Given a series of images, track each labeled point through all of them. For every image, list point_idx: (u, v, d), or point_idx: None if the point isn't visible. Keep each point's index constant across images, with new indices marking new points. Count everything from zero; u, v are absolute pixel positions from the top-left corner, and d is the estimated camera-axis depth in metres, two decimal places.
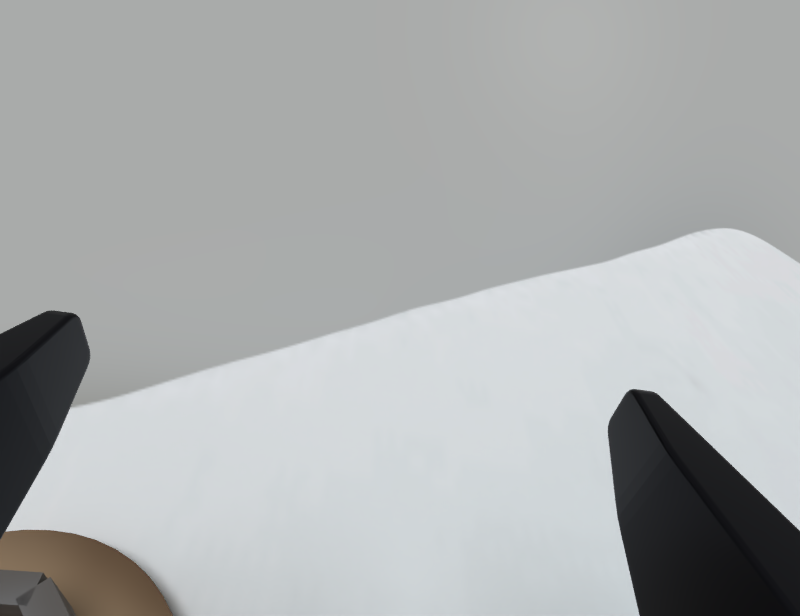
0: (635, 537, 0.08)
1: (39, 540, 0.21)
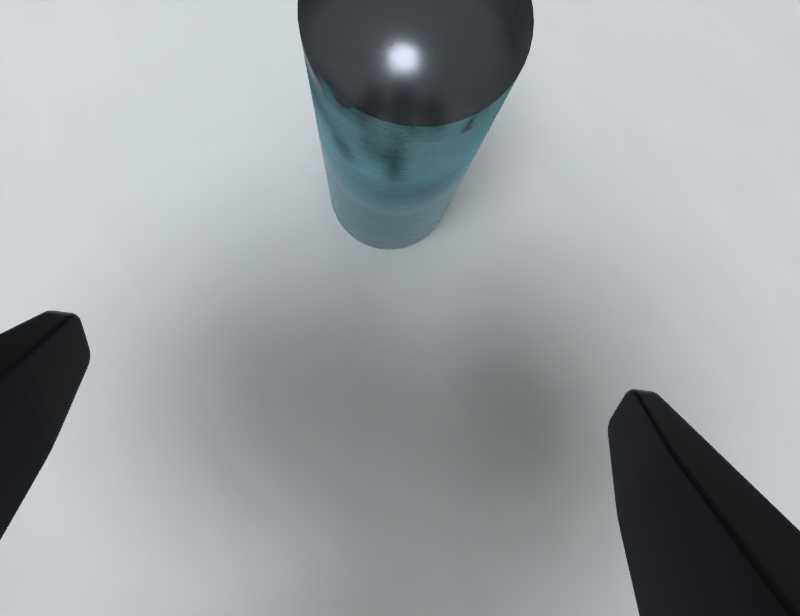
0: (635, 537, 0.08)
1: None
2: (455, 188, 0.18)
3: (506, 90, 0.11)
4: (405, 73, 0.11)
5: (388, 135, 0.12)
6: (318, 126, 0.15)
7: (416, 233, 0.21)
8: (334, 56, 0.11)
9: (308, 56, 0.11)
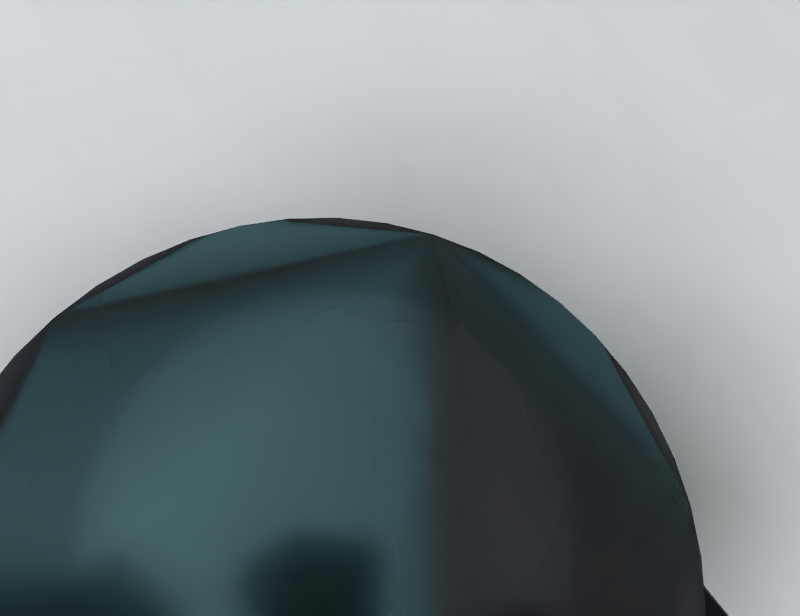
0: None
1: None
2: None
3: None
4: None
5: None
6: None
7: None
8: None
9: None
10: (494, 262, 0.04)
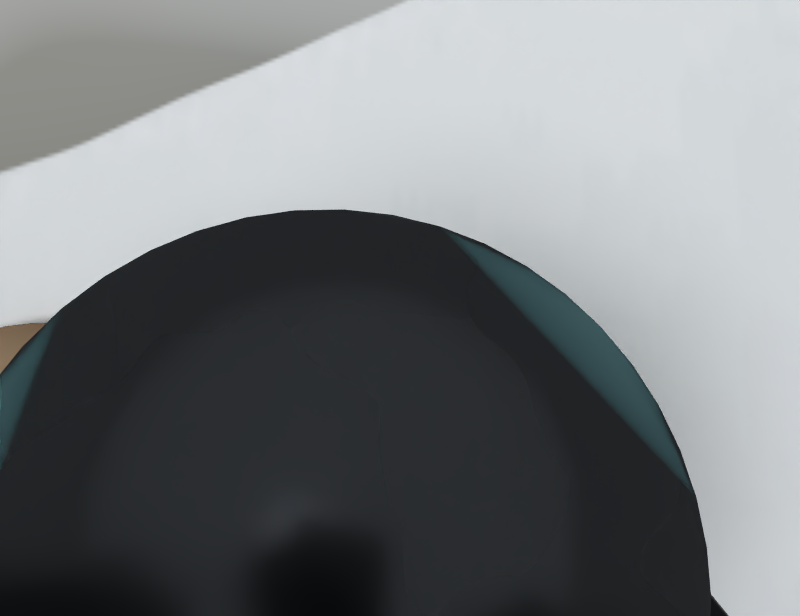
0: None
1: None
2: None
3: None
4: None
5: None
6: None
7: None
8: None
9: None
10: (500, 254, 0.04)
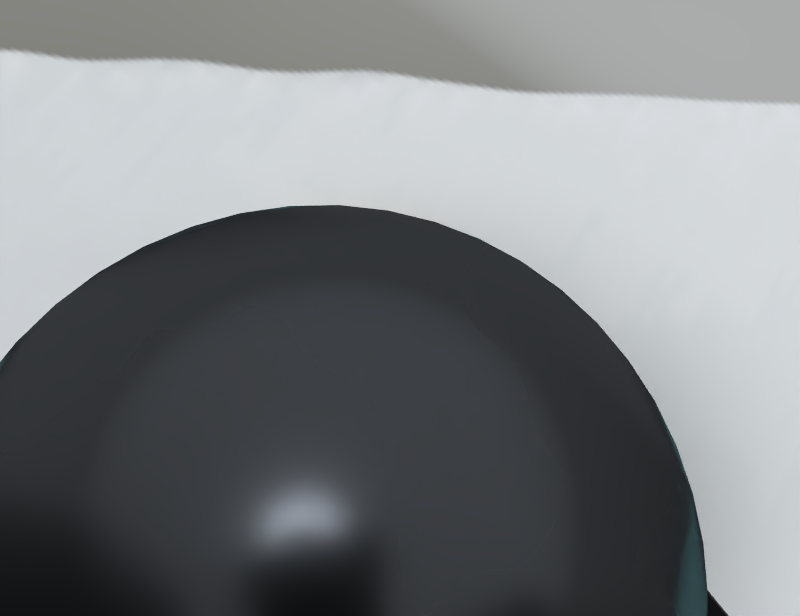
0: None
1: None
2: None
3: None
4: None
5: None
6: None
7: None
8: None
9: None
10: (496, 249, 0.04)
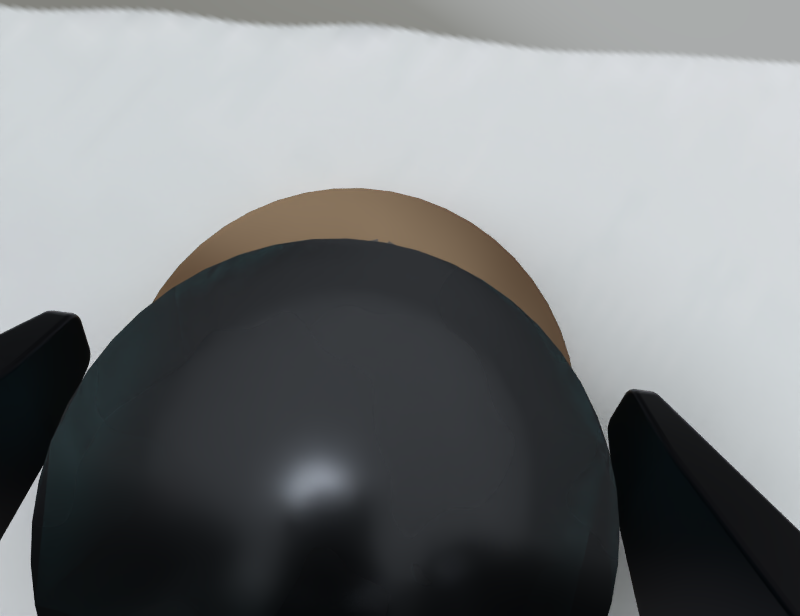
0: (635, 537, 0.08)
1: (458, 229, 0.17)
2: None
3: None
4: None
5: None
6: None
7: None
8: None
9: None
10: (463, 271, 0.05)
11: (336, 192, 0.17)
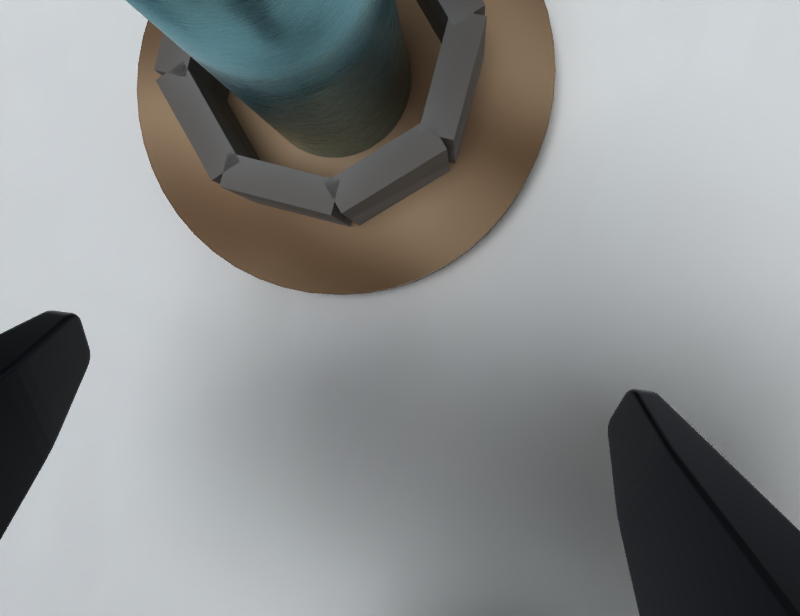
0: (635, 537, 0.08)
1: None
2: (378, 23, 0.12)
3: None
4: None
5: None
6: None
7: (373, 117, 0.16)
8: None
9: None
10: None
11: None
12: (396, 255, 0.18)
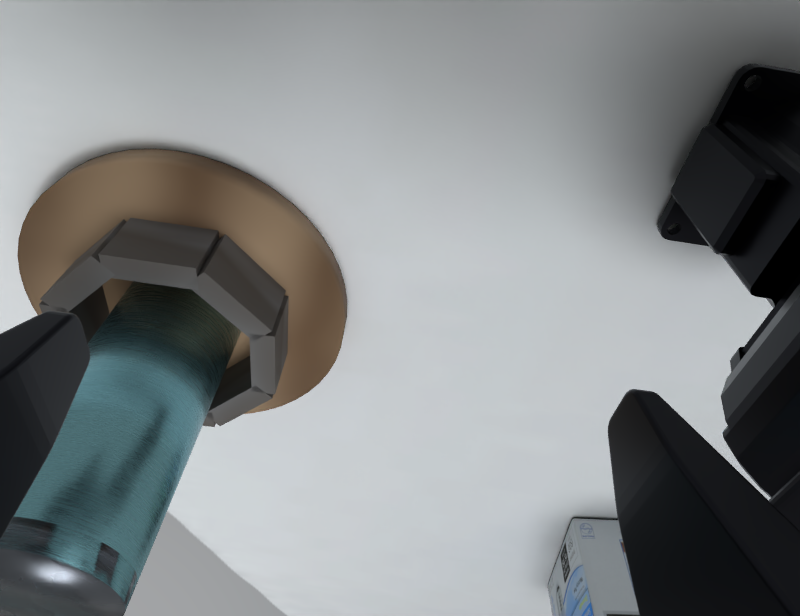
0: (635, 537, 0.08)
1: (35, 293, 0.24)
2: (131, 358, 0.18)
3: (17, 549, 0.13)
4: (73, 589, 0.14)
5: (123, 565, 0.15)
6: None
7: (199, 309, 0.21)
8: (104, 614, 0.15)
9: None
10: None
11: None
12: (301, 265, 0.22)
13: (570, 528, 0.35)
